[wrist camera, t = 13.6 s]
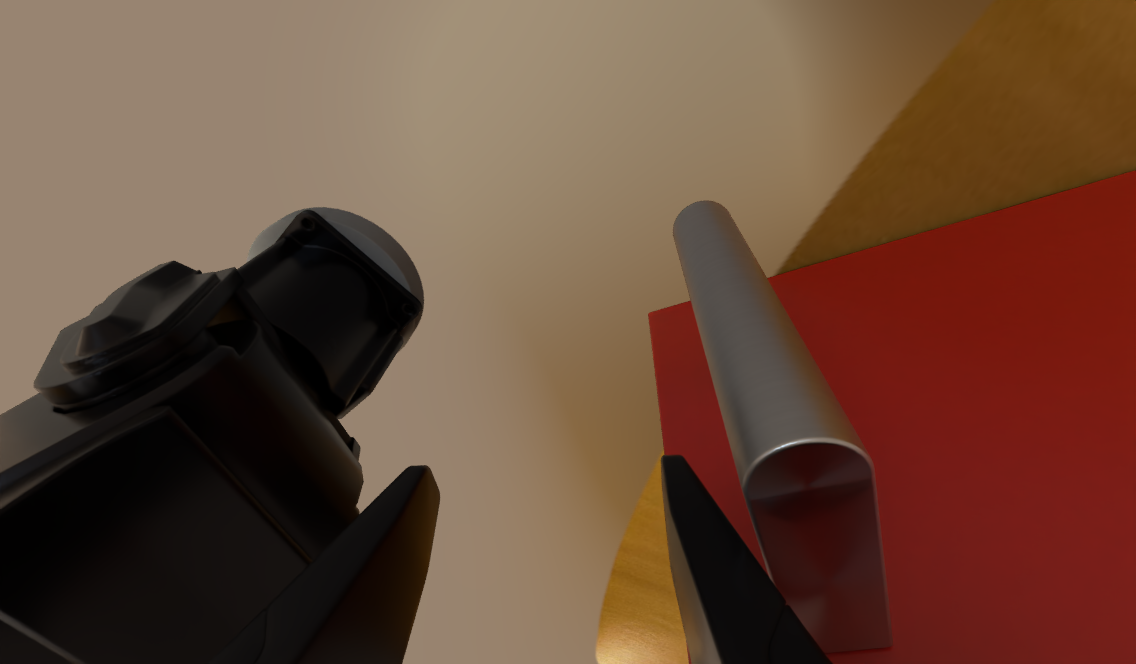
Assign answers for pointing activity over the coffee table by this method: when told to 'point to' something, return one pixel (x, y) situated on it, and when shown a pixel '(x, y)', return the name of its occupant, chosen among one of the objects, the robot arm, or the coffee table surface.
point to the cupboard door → (924, 428)
